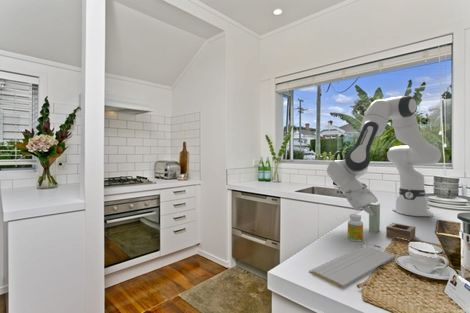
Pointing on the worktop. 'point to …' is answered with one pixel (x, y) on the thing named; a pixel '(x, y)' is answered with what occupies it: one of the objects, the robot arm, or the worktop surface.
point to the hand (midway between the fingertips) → (376, 214)
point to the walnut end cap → (400, 231)
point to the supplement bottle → (355, 228)
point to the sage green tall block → (374, 217)
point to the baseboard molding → (352, 266)
